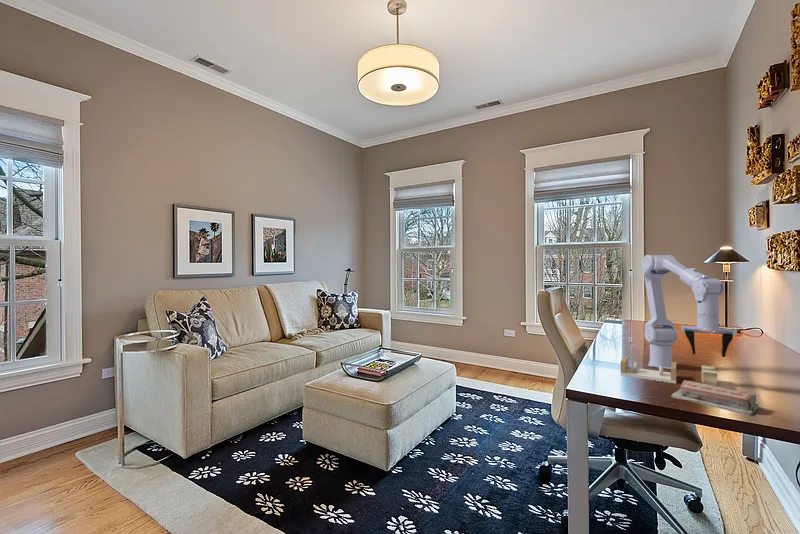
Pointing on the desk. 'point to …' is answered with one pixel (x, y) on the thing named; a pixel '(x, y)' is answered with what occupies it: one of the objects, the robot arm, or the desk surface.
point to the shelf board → (709, 375)
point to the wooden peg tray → (648, 372)
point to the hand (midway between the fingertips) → (708, 355)
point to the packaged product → (717, 397)
